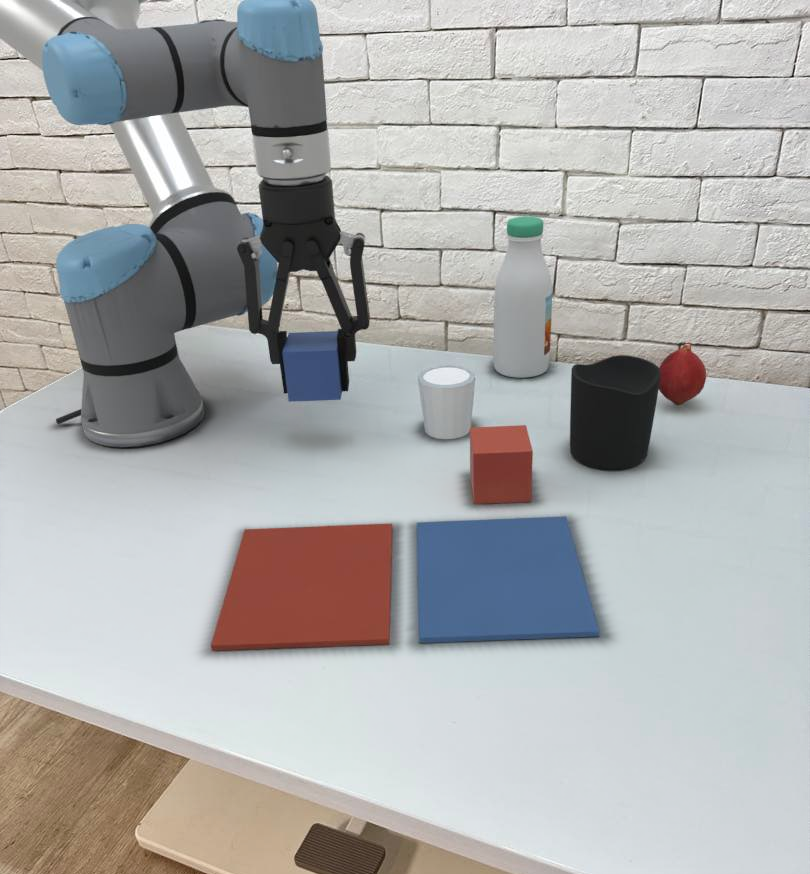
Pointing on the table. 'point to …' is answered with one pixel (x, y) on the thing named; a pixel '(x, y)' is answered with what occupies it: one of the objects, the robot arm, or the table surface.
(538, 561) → the blue mat
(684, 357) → the pomegranate
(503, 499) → the red block
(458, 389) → the white cup
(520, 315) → the milk bottle
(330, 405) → the table surface
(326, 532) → the red mat
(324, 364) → the blue block
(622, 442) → the pen holder
